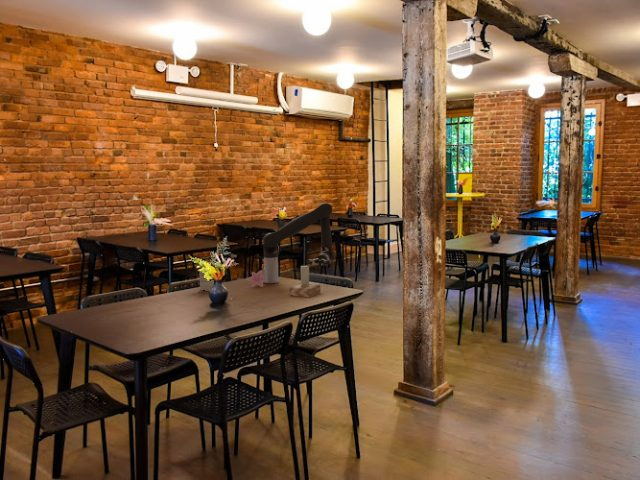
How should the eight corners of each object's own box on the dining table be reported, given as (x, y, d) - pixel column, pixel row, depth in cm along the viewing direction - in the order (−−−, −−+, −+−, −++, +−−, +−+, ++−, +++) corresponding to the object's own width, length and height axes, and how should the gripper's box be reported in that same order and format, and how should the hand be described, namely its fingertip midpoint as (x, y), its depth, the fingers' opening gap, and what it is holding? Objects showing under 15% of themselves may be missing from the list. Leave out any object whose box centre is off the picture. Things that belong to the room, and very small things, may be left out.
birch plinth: (289, 295, 356) (289, 287, 356) (300, 290, 369) (300, 283, 368) (310, 297, 350) (310, 289, 350) (320, 292, 363) (320, 284, 362)
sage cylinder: (299, 286, 358) (299, 266, 356) (302, 284, 362) (302, 265, 361) (306, 286, 356) (306, 267, 354) (310, 285, 360) (310, 266, 359)
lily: (244, 287, 386) (245, 276, 381) (252, 278, 396) (253, 266, 390) (260, 294, 383) (261, 283, 378) (268, 284, 393) (269, 273, 387)
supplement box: (211, 291, 371) (210, 265, 369) (199, 290, 375) (198, 264, 373) (220, 288, 380) (219, 262, 377) (208, 287, 384) (207, 262, 381)
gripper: (311, 253, 384) (306, 257, 368) (333, 254, 381) (328, 258, 366) (311, 264, 385) (306, 269, 369) (333, 265, 382) (328, 269, 366)
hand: (317, 263), depth 367 cm, fingers open, 8 cm apart
